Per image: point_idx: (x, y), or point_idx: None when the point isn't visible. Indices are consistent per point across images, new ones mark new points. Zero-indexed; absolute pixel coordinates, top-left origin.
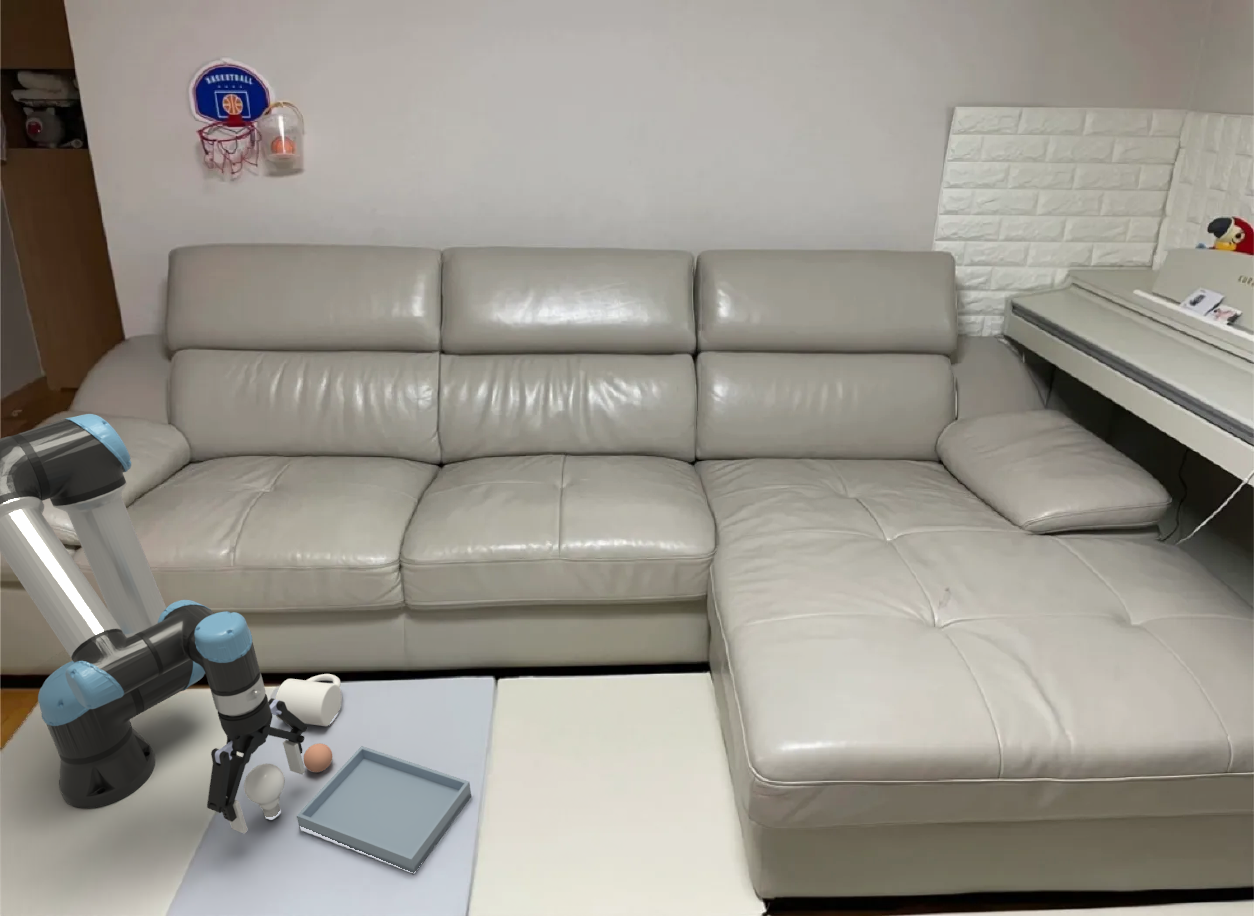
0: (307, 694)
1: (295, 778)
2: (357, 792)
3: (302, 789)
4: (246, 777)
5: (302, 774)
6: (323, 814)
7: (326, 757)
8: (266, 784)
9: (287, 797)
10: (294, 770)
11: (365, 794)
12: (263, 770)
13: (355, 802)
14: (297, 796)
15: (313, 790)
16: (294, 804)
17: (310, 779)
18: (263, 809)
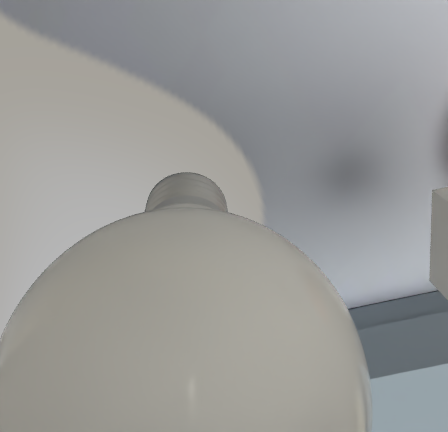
0: None
1: (421, 75)
2: (442, 390)
3: (375, 172)
4: (23, 428)
5: (431, 280)
6: None
7: None
8: None
9: (303, 154)
10: (439, 235)
11: (444, 414)
12: None
13: (399, 415)
14: (331, 188)
15: (391, 218)
16: (289, 216)
17: (442, 150)
18: (153, 205)
